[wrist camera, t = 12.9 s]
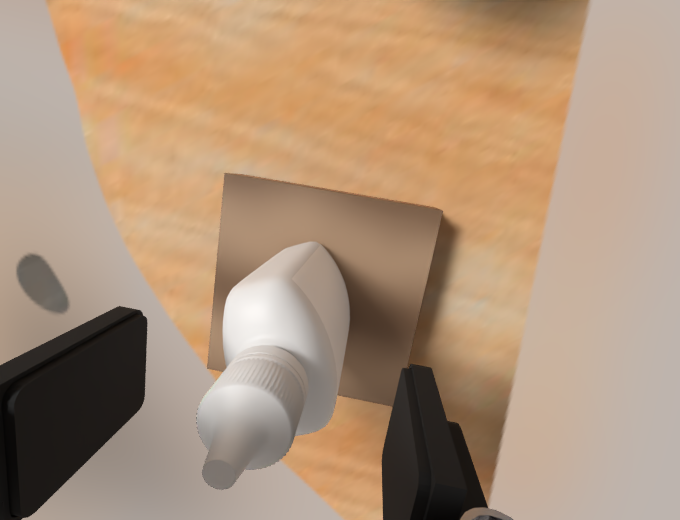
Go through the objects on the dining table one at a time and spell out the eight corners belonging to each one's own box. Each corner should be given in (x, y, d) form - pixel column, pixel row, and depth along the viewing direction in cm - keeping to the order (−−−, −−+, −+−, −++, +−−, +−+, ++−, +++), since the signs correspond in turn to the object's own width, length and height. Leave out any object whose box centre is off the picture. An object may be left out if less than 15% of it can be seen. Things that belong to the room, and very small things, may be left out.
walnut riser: (242, 174, 20) (224, 173, 18) (434, 207, 20) (442, 210, 17) (225, 348, 23) (207, 368, 20) (395, 382, 22) (397, 407, 20)
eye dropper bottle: (368, 252, 18) (359, 380, 6) (343, 351, 19) (296, 607, 8) (285, 232, 18) (128, 319, 7) (265, 330, 19) (104, 551, 8)
